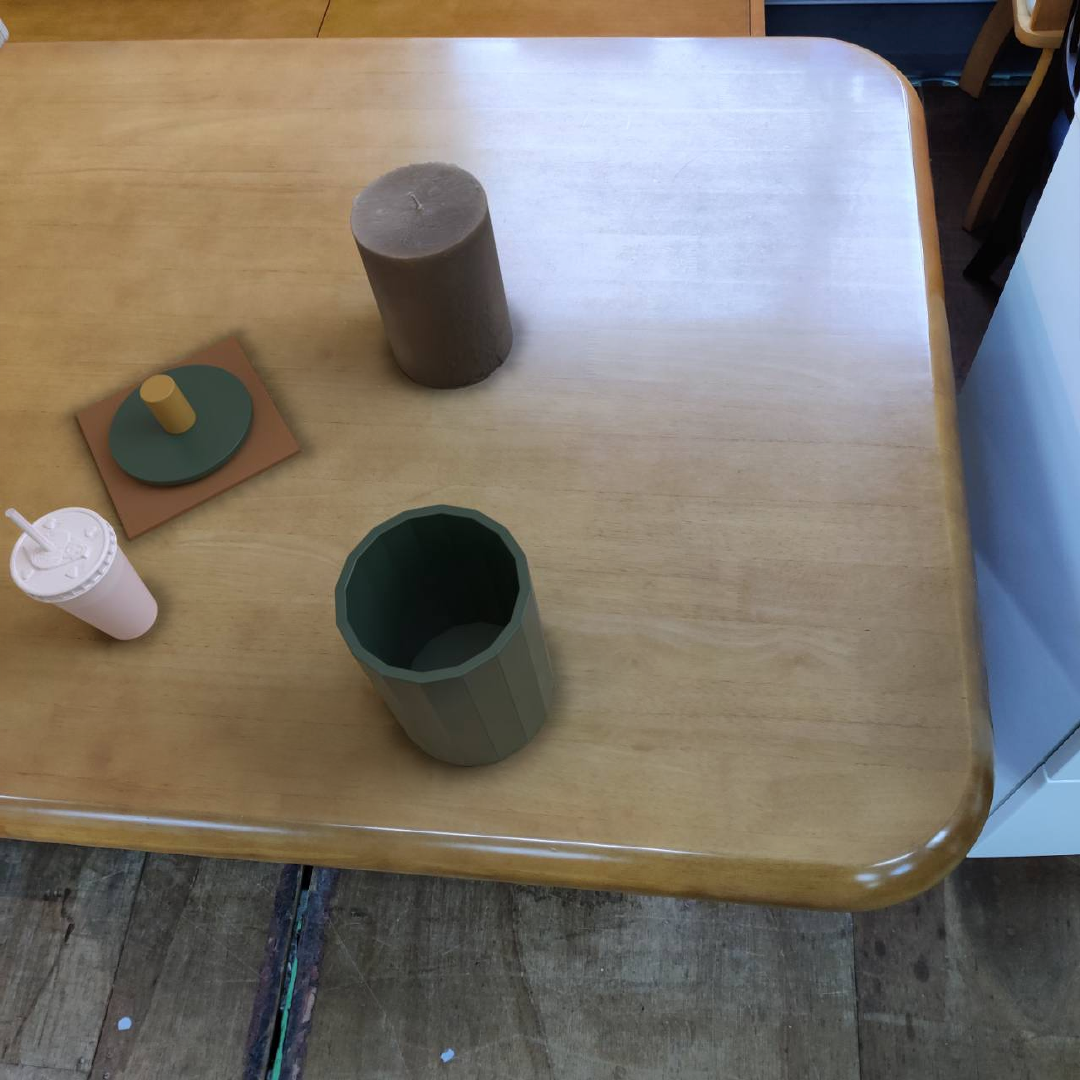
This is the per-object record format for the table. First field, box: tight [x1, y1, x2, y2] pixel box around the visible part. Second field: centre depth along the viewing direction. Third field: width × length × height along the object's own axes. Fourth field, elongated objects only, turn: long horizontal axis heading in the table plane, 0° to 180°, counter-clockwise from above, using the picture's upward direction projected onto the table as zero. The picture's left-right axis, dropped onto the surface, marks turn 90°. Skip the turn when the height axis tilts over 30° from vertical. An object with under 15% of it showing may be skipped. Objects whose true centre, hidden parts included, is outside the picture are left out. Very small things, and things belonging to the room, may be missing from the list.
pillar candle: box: [349, 161, 514, 390], centre depth 70 cm, size 10×10×15 cm
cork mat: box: [75, 335, 302, 542], centre depth 75 cm, size 14×14×1 cm
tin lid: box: [109, 365, 254, 486], centre depth 72 cm, size 11×11×5 cm
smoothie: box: [5, 506, 158, 641], centre depth 61 cm, size 6×6×14 cm
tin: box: [334, 503, 555, 767], centre depth 55 cm, size 10×10×14 cm
